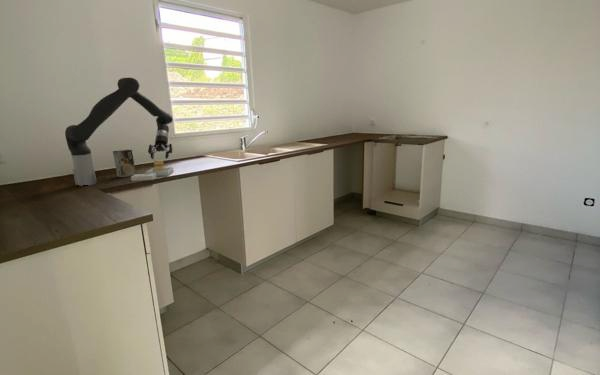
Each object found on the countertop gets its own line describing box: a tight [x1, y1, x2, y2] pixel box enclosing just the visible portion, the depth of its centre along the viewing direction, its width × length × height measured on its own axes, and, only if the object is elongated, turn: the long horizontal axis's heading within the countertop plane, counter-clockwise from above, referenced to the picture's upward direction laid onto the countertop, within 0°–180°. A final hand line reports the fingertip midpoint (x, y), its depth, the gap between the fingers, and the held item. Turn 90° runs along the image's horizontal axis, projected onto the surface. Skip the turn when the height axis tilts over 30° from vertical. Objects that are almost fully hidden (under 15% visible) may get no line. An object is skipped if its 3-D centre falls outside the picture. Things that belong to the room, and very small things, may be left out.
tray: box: [144, 166, 174, 178], centre depth 206 cm, size 13×13×3 cm
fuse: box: [153, 159, 165, 172], centre depth 205 cm, size 5×2×8 cm, turn 98°
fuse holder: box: [130, 173, 157, 182], centre depth 193 cm, size 12×7×2 cm, turn 97°
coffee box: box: [112, 149, 137, 178], centre depth 203 cm, size 9×6×16 cm
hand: (159, 158), depth 206 cm, fingers open, 8 cm apart
